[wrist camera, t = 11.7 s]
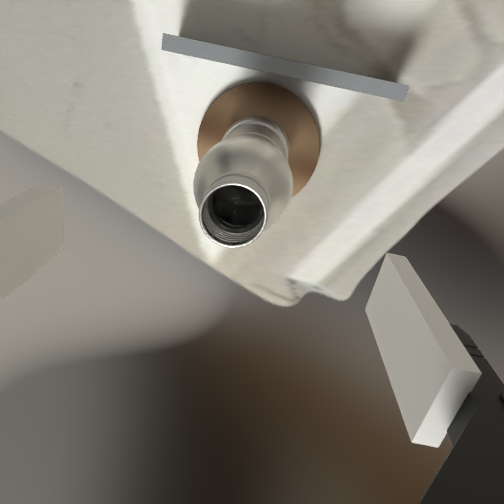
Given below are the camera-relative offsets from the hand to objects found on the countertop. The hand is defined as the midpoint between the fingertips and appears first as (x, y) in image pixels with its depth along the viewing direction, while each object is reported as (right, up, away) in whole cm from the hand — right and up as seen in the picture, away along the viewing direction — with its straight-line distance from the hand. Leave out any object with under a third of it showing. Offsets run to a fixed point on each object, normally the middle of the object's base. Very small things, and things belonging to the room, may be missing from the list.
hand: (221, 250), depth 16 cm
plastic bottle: (+2, +10, +23) cm, 25 cm away
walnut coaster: (+2, +10, +23) cm, 25 cm away
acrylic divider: (+4, +17, +20) cm, 26 cm away
